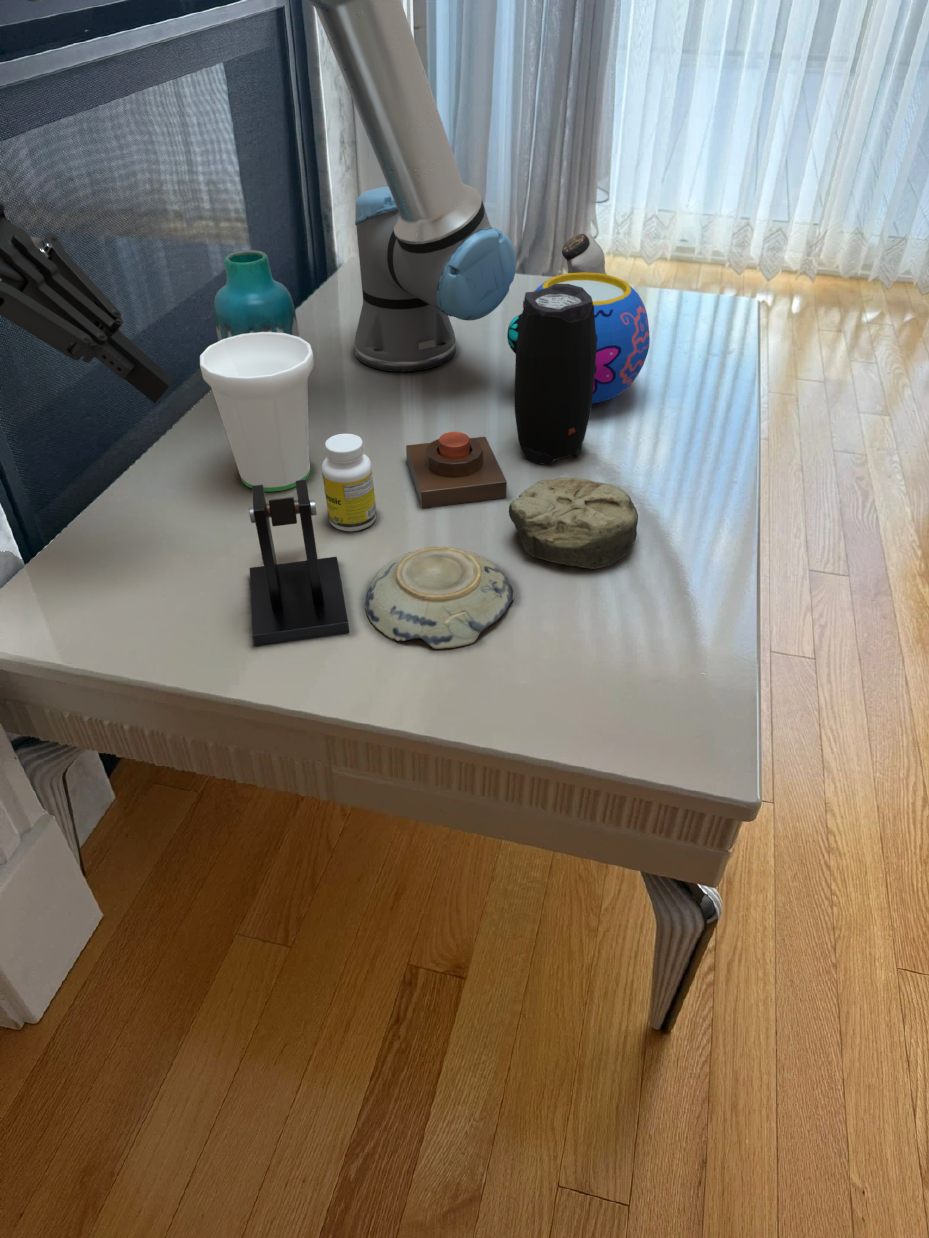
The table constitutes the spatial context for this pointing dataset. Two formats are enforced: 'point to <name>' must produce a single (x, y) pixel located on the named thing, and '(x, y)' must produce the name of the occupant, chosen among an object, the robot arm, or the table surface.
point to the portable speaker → (554, 372)
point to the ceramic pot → (608, 330)
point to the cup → (263, 404)
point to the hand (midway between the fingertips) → (164, 391)
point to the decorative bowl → (438, 597)
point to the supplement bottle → (348, 483)
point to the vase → (252, 299)
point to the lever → (283, 511)
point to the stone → (575, 522)
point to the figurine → (584, 255)
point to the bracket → (294, 583)
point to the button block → (455, 474)
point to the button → (454, 445)
